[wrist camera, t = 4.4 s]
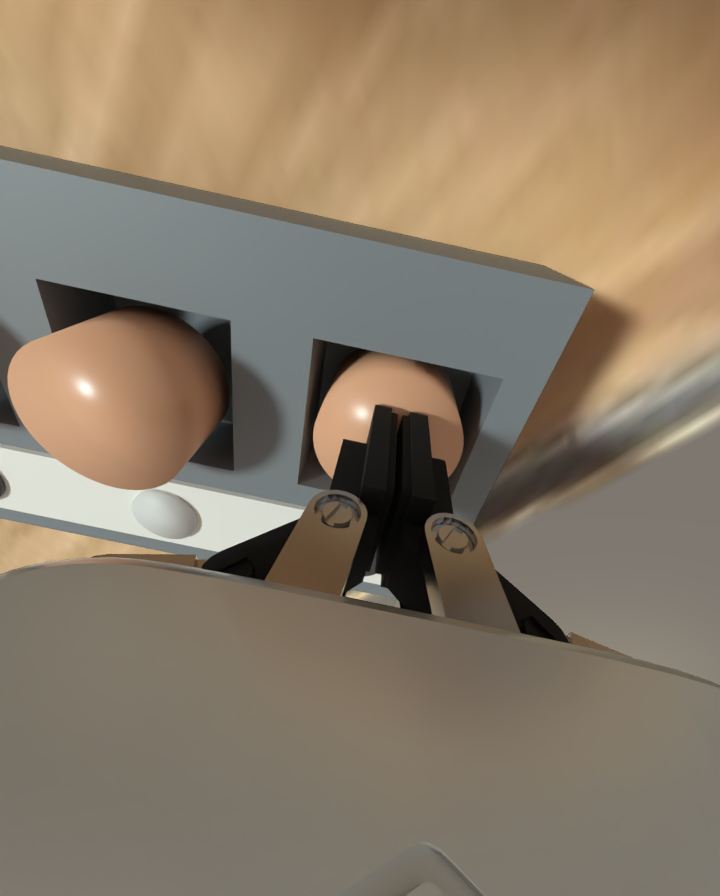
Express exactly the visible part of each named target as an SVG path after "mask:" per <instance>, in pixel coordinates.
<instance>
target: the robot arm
mask: <svg viewBox="0 0 720 896" xmlns="http://www.w3.org/2000/svg"><path fill="white" fill-rule="evenodd" d="M397 426H398V414H396V413H392V408H390V407H385V406H380V405H376V404H375V408H374V412H373V416H372V421H371V425H370V429H369V434H368V438H367V442H366V443H361V442H357V441H352V440H347V439H343V442H342V446H341V449H340V453H339V457H338V460H337V464H336V468H335V472H334V475H333V479H332V483H331V486H330V490H327V491H323V492H320V493H318V494H316V495H315V496H314V497H313V498H312V499H311V500H310V501H309V503H308V505H307V506H306V508H305V510H304V512H303V513H302V515H301V517H300V518H299V519H297V520H294V521H292V522H290V523H287V524H285V525H282V526H280V527H278V528H275V529H273V530H270V531H268V532H266V533H263V534H261V535H258V536H256V537H254V538H251V539H249V540H246V541H244V542H242V543H239V544H237V545H234V546H232V547H230V548H227V549H225V550H222V551H220V552H218V553H217V554H215V555H213V556H211V557H210V558H209V559H197V555H185V554H105V555H97V556H93V557H91V558H75V559H67V560H58V561H50V562H44V563H39V564H34V565H29V566H25V567H22V568H18V569H14V570H10V571H8V572H5V573H2V574H0V896H720V685H718V684H716V683H713V682H711V681H709V680H706V679H703V678H700V677H697V676H694V675H691V674H688V673H685V672H682V671H679V670H676V669H672V668H669V667H665V666H661V665H657V664H654V663H650V662H646V661H643V660H639V659H635V658H632V657H630V656H627V655H625V654H623V653H620V652H618V651H615V650H613V649H610V648H608V647H606V646H603V645H601V644H598V643H596V642H594V641H591V640H589V639H586V638H584V637H582V636H579V635H577V634H574V633H572V632H570V633H569V634H568V635H567V636H566V635H565V634H564V633H563V631H562V630H561V629H560V628H559V626H558V625H556V623H555V622H554V621H553V620H552V619H551V618H550V617H549V616H547V615H546V614H545V613H544V612H543V611H542V610H540V609H539V608H538V607H537V606H536V605H535V604H534V603H532V602H531V601H530V600H529V599H528V598H527V597H526V596H525V595H524V594H522V593H521V592H520V591H519V590H518V589H517V588H516V587H514V586H513V585H512V584H511V583H510V582H509V581H508V580H506V579H505V578H504V577H503V576H502V575H501V574H500V573H498V572H497V571H496V570H495V568H494V565H493V563H492V560H491V558H490V555H489V553H488V550H487V548H486V545H485V543H484V540H483V538H482V536H481V534H480V532H479V531H478V530H477V528H476V527H475V526H474V525H473V524H472V523H470V522H469V521H467V520H466V519H464V518H462V517H460V516H458V515H455V514H453V508H452V501H451V494H450V487H449V481H448V474H447V467H446V462H445V461H444V460H441V459H437V458H432V452H431V442H430V431H429V421H428V416H427V415H422V414H418V413H413V412H410V414H409V416H406V415H403V416H402V419H401V422H400V425H399V429H398V432H397ZM376 550H377V553H376ZM375 553H376V564H375V573H376V574H381V587H384V588H388V589H389V591H390V592H391V593H392V594H393V595H394V596H395V600H394V607H393V606H387V605H383V604H378V603H373V602H368V601H363V600H358V599H354V598H349V597H346V594H347V591H349V590H350V589H352V588H354V587H355V586H357V585H359V584H360V583H362V582H363V579H364V576H365V573H366V572H370V569H371V566H372V563H373V560H374V557H375Z"/></svg>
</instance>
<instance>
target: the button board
mask: <svg viewBox="0 0 720 896" xmlns="http://www.w3.org/2000/svg"><path fill="white" fill-rule="evenodd" d="M593 292H594V289H592V288H590V287H588V286H586V285H584V284H582V283H579V282H577V281H575V280H573V279H571V278H569V277H567V276H565V275H563V274H561V273H559V272H557V271H554V270H552V269H550V268H548V267H546V266H544V265H539V264H535V263H530V262H526V261H521V260H517V259H512V258H508V257H503V256H498V255H494V254H489V253H485V252H480V251H476V250H471V249H467V248H462V247H458V246H453V245H449V244H444V243H439V242H435V241H430V240H426V239H421V238H417V237H412V236H408V235H403V234H399V233H394V232H390V231H385V230H381V229H376V228H371V227H367V226H362V225H358V224H353V223H349V222H344V221H340V220H335V219H331V218H326V217H322V216H317V215H313V214H308V213H303V212H299V211H294V210H290V209H285V208H281V207H276V206H272V205H267V204H263V203H258V202H254V201H249V200H245V199H240V198H235V197H231V196H226V195H222V194H217V193H213V192H208V191H204V190H199V189H195V188H190V187H186V186H181V185H177V184H172V183H167V182H163V181H158V180H154V179H149V178H145V177H140V176H136V175H131V174H127V173H122V172H118V171H113V170H108V169H104V168H99V167H95V166H90V165H86V164H81V163H77V162H72V161H68V160H63V159H59V158H54V157H50V156H45V155H40V154H36V153H31V152H27V151H22V150H18V149H13V148H9V147H4V146H0V380H1V382H0V518H1V519H6V520H11V521H16V522H21V523H26V524H31V525H36V526H41V527H45V528H50V529H55V530H60V531H65V532H70V533H75V534H80V535H85V536H90V537H95V538H100V539H105V540H109V541H114V542H119V543H124V544H129V545H134V546H139V547H144V548H149V549H154V550H159V551H164V552H169V553H174V554H185V555H197V558H198V559H209V558H210V557H211V556H213V555H215V554H217V553H218V552H220V551H222V550H225V549H227V548H230V547H232V546H234V545H237V544H239V543H242V542H244V541H246V540H249V539H251V538H254V537H256V536H258V535H261V534H263V533H266V532H268V531H270V530H273V529H275V528H278V527H280V526H282V525H285V524H287V523H290V522H292V521H294V520H297V519H299V518H300V517H301V515H302V513H303V512H304V510H305V508H306V506H307V505H308V503H309V501H310V500H311V499H312V498H313V497H314V496H315V495H316V494H318V493H320V492H323V491H327V490H330V486H331V483H332V478H331V477H330V476H329V475H328V474H327V473H326V471H325V470H324V469H323V467H322V466H321V464H320V462H319V460H318V458H317V455H316V452H315V448H314V442H313V430H314V425H315V421H316V419H317V416H318V413H319V411H320V408H321V406H322V403H323V401H324V399H325V396H326V394H327V391H328V389H329V386H330V384H331V381H332V379H333V377H334V374H335V372H336V371H337V369H338V367H339V366H340V365H341V363H342V362H343V361H344V360H345V359H346V358H347V357H348V356H349V355H351V354H352V353H353V352H355V351H356V350H358V349H360V348H361V349H366V350H371V351H375V352H380V353H385V354H389V355H394V356H399V357H403V358H408V359H413V360H417V361H422V362H426V363H431V364H436V365H440V366H443V367H444V368H445V370H446V372H447V374H448V376H449V378H450V381H451V384H452V388H453V392H454V396H455V400H456V404H457V408H458V412H459V416H460V420H461V424H462V429H463V435H464V445H463V451H462V455H461V458H460V461H459V463H458V465H457V467H456V468H455V470H454V471H453V473H452V474H451V475H450V476H449V477H448V481H449V487H450V494H451V501H452V508H453V514H455V515H458V516H460V517H462V518H464V519H466V520H467V521H469V522H470V523H472V524H474V522H475V520H476V518H477V516H478V514H479V512H480V510H481V508H482V506H483V504H484V502H485V500H486V499H487V497H488V495H489V493H490V491H491V489H492V487H493V485H494V483H495V481H496V479H497V477H498V475H499V473H500V472H501V470H502V468H503V466H504V464H505V462H506V460H507V458H508V456H509V454H510V452H511V450H512V448H513V446H514V444H515V443H516V441H517V439H518V437H519V435H520V433H521V431H522V429H523V427H524V425H525V423H526V421H527V419H528V417H529V415H530V414H531V412H532V410H533V408H534V406H535V404H536V402H537V400H538V398H539V396H540V394H541V392H542V390H543V388H544V386H545V385H546V383H547V381H548V379H549V377H550V375H551V373H552V371H553V369H554V367H555V365H556V363H557V361H558V359H559V357H560V356H561V354H562V352H563V350H564V348H565V346H566V344H567V342H568V340H569V338H570V336H571V334H572V332H573V330H574V328H575V327H576V325H577V323H578V321H579V319H580V317H581V315H582V313H583V311H584V309H585V307H586V305H587V303H588V301H589V300H590V298H591V296H592V294H593ZM126 306H147V307H153V308H156V309H160V310H163V311H165V312H168V313H170V314H173V315H174V316H176V317H178V318H180V319H182V320H183V321H185V322H186V323H188V324H189V325H191V326H192V327H193V328H194V329H195V330H197V331H198V332H199V333H200V334H201V335H202V336H203V337H204V338H205V339H206V340H207V341H208V342H209V344H210V345H211V346H212V347H213V349H214V350H215V352H216V353H217V355H218V356H219V358H220V360H221V362H222V364H223V366H224V368H225V371H226V373H227V376H228V381H229V386H230V402H229V407H228V410H227V412H226V415H225V416H224V418H223V420H222V421H221V422H220V423H219V425H218V426H217V427H216V428H215V429H214V431H213V432H212V433H211V434H210V435H209V437H208V438H207V439H206V440H205V441H204V443H203V444H202V445H201V446H200V448H199V449H198V450H197V451H196V452H195V454H194V455H193V456H192V457H191V458H190V460H189V461H188V462H187V463H186V464H185V466H184V467H183V468H182V469H181V470H180V472H179V473H178V474H177V475H176V476H175V477H174V478H173V479H172V480H171V481H169V482H168V483H166V484H164V485H162V486H159V487H156V488H153V489H147V490H126V489H120V488H115V487H111V486H107V485H104V484H101V483H98V482H96V481H93V480H91V479H89V478H86V477H84V476H82V475H80V474H79V473H77V472H75V471H73V470H72V469H70V468H68V467H67V466H65V465H64V464H63V463H61V462H60V461H58V460H57V459H56V458H55V457H53V456H52V455H51V454H50V453H49V452H47V451H46V450H45V449H44V448H43V447H42V446H41V445H40V444H39V443H38V442H37V441H36V440H35V438H34V437H33V436H32V435H31V434H30V432H29V431H28V430H27V428H26V427H25V426H24V424H23V423H22V421H21V419H20V418H19V416H18V414H17V412H16V410H15V408H14V406H13V403H12V401H11V398H10V394H9V389H8V377H7V376H8V369H9V365H10V363H11V360H12V358H13V357H14V355H15V354H16V352H17V351H18V350H19V349H21V348H22V347H23V346H24V345H26V344H28V343H29V342H31V341H34V340H36V339H39V338H41V337H44V336H47V335H49V334H52V333H55V332H57V331H60V330H63V329H65V328H68V327H70V326H73V325H76V324H78V323H81V322H84V321H86V320H89V319H91V318H94V317H97V316H99V315H102V314H105V313H107V312H110V311H113V310H115V309H118V308H121V307H126ZM376 553H377V550H376ZM376 553H375V557H374V560H373V563H372V566H371V569H370V572H366V573H365V576H364V579H363V582H362V583H360V584H359V585H357V586H355V587H354V588H352V589H351V590H356V591H361V592H366V593H371V594H375V595H380V596H385V597H390V598H395V596H394V595H393V594H392V593H391V592H390V591H389V589H388V588H384V587H381V574H376V573H375V564H376Z"/></svg>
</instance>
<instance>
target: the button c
mask: <svg viewBox="0 0 720 896" xmlns="http://www.w3.org/2000/svg"><path fill="white" fill-rule="evenodd" d="M375 404H376V405H380V406H385V407H390V408H392V413H396V414H398V426H397V432H398V429H399V425H400V422H401V419H402V416H403V415H406V416H409V414H410V412H413V413H418V414H422V415H427V416H428V421H429V431H430V442H431V452H432V458H437V459H441V460H444V461H445V462H446V467H447V474H448V477H449V476H450V475H451V474H452V473H453V471H454V470H455V468H456V467H457V465H458V463H459V461H460V458H461V455H462V451H463V445H464V435H463V429H462V424H461V420H460V416H459V412H458V408H457V404H456V400H455V396H454V392H453V388H452V384H451V381H450V378H449V376H448V374H447V372H446V370H445V368H444V367H443V366H440V365H436V364H431V363H426V362H422V361H417V360H413V359H408V358H403V357H399V356H394V355H389V354H385V353H380V352H375V351H371V350H366V349H361V348H360V349H358V350H356V351H355V352H353V353H352V354H351V355H349V356H348V357H347V358H346V359H345V360H344V361H343V362H342V363H341V365H340V366H339V367H338V369H337V371H336V372H335V374H334V377H333V379H332V381H331V384H330V386H329V389H328V391H327V394H326V396H325V399H324V401H323V403H322V406H321V408H320V411H319V413H318V416H317V419H316V421H315V425H314V430H313V442H314V448H315V452H316V455H317V458H318V460H319V462H320V464H321V466H322V467H323V469H324V470H325V471H326V473H327V474H328V475H329V476H330V477H331V478H332V479H333V475H334V472H335V468H336V464H337V460H338V457H339V453H340V449H341V446H342V442H343V439H347V440H352V441H357V442H361V443H366V442H367V438H368V434H369V429H370V425H371V421H372V416H373V412H374V408H375Z"/></svg>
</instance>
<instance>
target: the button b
mask: <svg viewBox="0 0 720 896" xmlns="http://www.w3.org/2000/svg"><path fill="white" fill-rule="evenodd" d="M7 377H8V389H9V394H10V398H11V401H12V403H13V406H14V408H15V410H16V412H17V414H18V416H19V418H20V419H21V421H22V423H23V424H24V426H25V427H26V428H27V430H28V431H29V432H30V434H31V435H32V436H33V437H34V438H35V440H36V441H37V442H38V443H39V444H40V445H41V446H42V447H43V448H44V449H45V450H46V451H47V452H49V453H50V454H51V455H52V456H53V457H55V458H56V459H57V460H58V461H60V462H61V463H63V464H64V465H65V466H67V467H68V468H70V469H72V470H73V471H75V472H77V473H79V474H80V475H82V476H84V477H86V478H89V479H91V480H93V481H96V482H98V483H101V484H104V485H107V486H111V487H115V488H120V489H126V490H147V489H153V488H156V487H159V486H162V485H164V484H166V483H168V482H169V481H171V480H172V479H173V478H174V477H175V476H176V475H177V474H178V473H179V472H180V470H181V469H182V468H183V467H184V466H185V464H186V463H187V462H188V461H189V460H190V458H191V457H192V456H193V455H194V454H195V452H196V451H197V450H198V449H199V448H200V446H201V445H202V444H203V443H204V441H205V440H206V439H207V438H208V437H209V435H210V434H211V433H212V432H213V431H214V429H215V428H216V427H217V426H218V425H219V423H220V422H221V421H222V420H223V418H224V416H225V415H226V412H227V410H228V407H229V402H230V386H229V381H228V376H227V373H226V371H225V368H224V366H223V364H222V362H221V360H220V358H219V356H218V355H217V353H216V352H215V350H214V349H213V347H212V346H211V345H210V344H209V342H208V341H207V340H206V339H205V338H204V337H203V336H202V335H201V334H200V333H199V332H198V331H197V330H195V329H194V328H193V327H192V326H191V325H189V324H188V323H186V322H185V321H183V320H182V319H180V318H178V317H176V316H174V315H173V314H170V313H168V312H165V311H163V310H160V309H156V308H153V307H147V306H126V307H121V308H118V309H115V310H113V311H110V312H107V313H105V314H102V315H99V316H97V317H94V318H91V319H89V320H86V321H84V322H81V323H78V324H76V325H73V326H70V327H68V328H65V329H63V330H60V331H57V332H55V333H52V334H49V335H47V336H44V337H41V338H39V339H36V340H34V341H31V342H29V343H28V344H26V345H24V346H23V347H22V348H21V349H19V350H18V351H17V352H16V354H15V355H14V357H13V358H12V360H11V363H10V365H9V369H8V376H7Z"/></svg>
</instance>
